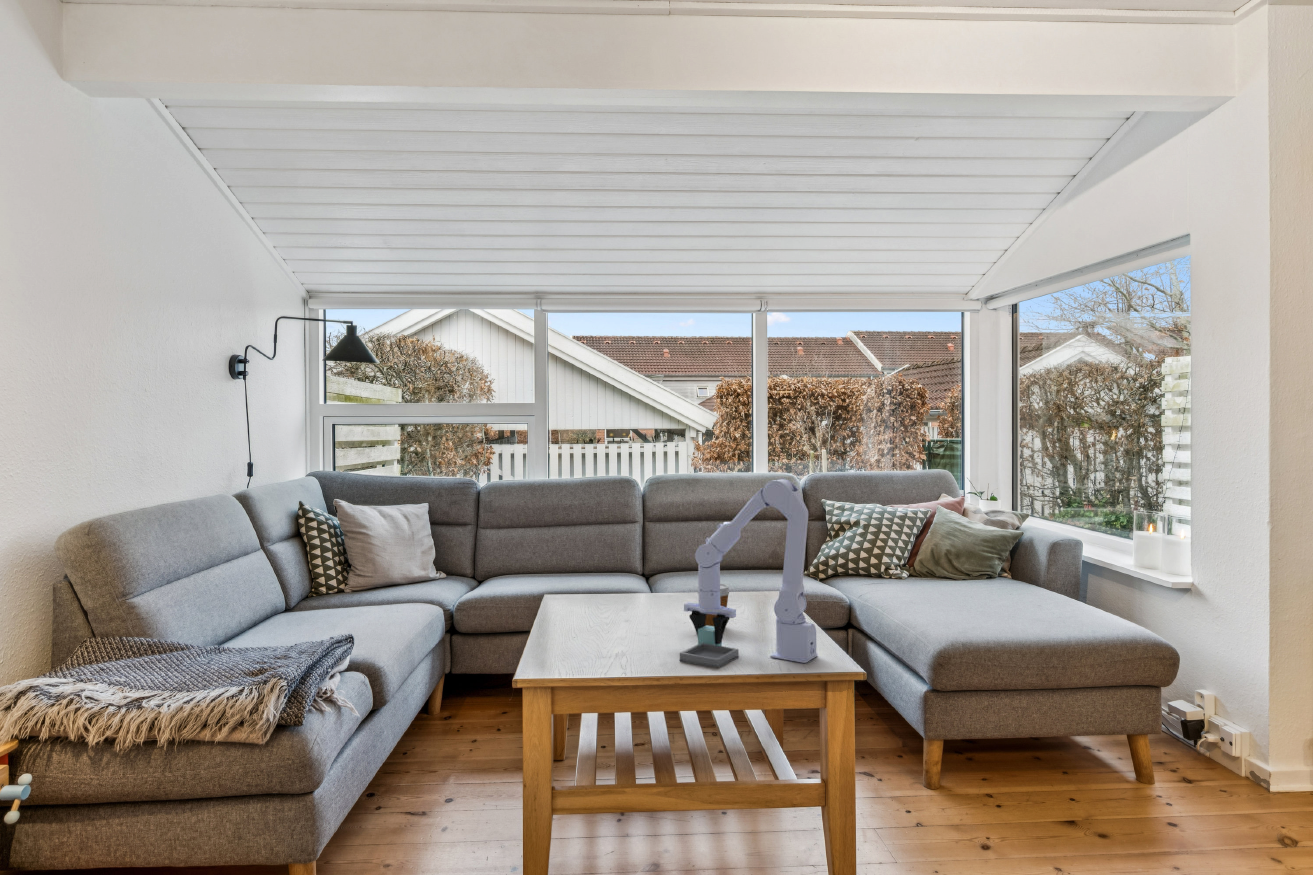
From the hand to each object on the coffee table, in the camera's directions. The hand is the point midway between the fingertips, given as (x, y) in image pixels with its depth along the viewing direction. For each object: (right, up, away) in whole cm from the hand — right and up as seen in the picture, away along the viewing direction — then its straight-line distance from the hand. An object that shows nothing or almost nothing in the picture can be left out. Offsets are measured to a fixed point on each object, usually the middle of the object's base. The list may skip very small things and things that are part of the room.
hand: (709, 641), depth 187 cm
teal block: (0, -2, 0) cm, 2 cm away
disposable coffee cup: (+3, -2, +20) cm, 20 cm away
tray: (-1, -1, -10) cm, 10 cm away
